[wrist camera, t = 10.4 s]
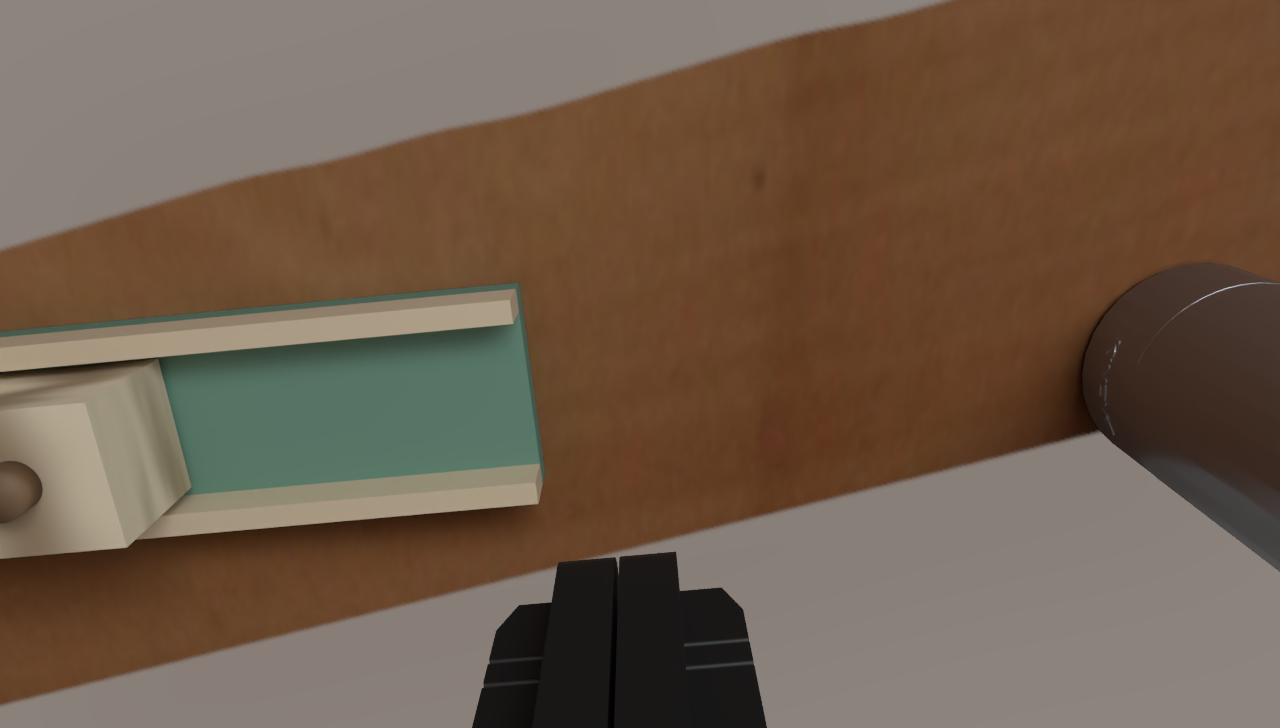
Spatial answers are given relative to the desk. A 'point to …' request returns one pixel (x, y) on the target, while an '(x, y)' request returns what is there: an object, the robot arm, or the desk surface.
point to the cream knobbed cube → (85, 457)
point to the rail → (330, 405)
